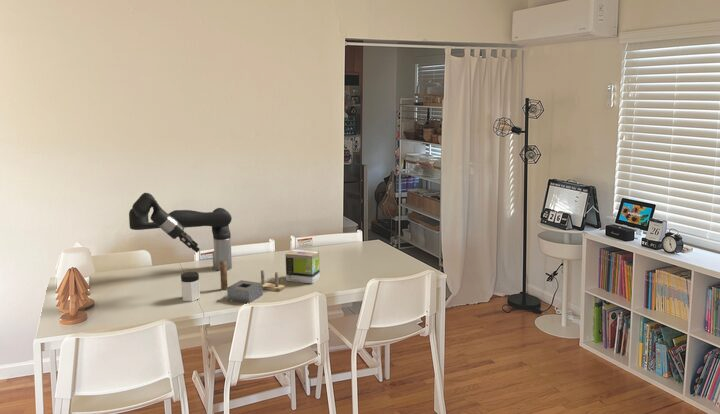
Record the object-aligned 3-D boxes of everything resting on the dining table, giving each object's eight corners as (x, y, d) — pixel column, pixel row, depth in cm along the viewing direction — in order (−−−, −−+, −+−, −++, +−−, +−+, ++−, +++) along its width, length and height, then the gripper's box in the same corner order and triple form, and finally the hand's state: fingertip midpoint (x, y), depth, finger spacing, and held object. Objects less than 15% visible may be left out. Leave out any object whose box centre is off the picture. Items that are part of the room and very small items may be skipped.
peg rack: (255, 287, 308) (254, 271, 307) (260, 284, 313) (260, 268, 311) (279, 291, 303) (279, 275, 301) (284, 288, 308) (284, 272, 306)
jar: (194, 294, 300) (192, 270, 297) (204, 297, 295) (202, 273, 292) (178, 299, 293) (176, 274, 290) (188, 303, 288) (186, 278, 285)
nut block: (227, 299, 292) (226, 287, 291) (241, 291, 303) (241, 280, 301) (249, 303, 287) (248, 291, 286) (262, 295, 298) (262, 283, 297)
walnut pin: (219, 289, 306) (218, 262, 303) (223, 287, 308) (222, 260, 306) (225, 290, 304) (224, 263, 301) (229, 288, 307) (227, 261, 304)
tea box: (320, 278, 323) (319, 251, 320) (312, 284, 314) (312, 256, 311) (294, 275, 328) (293, 248, 325) (285, 281, 319) (284, 253, 316)
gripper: (165, 229, 298) (190, 250, 304) (166, 236, 285) (193, 258, 291) (176, 217, 298) (201, 239, 305) (178, 224, 285) (204, 246, 291)
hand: (197, 248), depth 298 cm, fingers open, 8 cm apart
